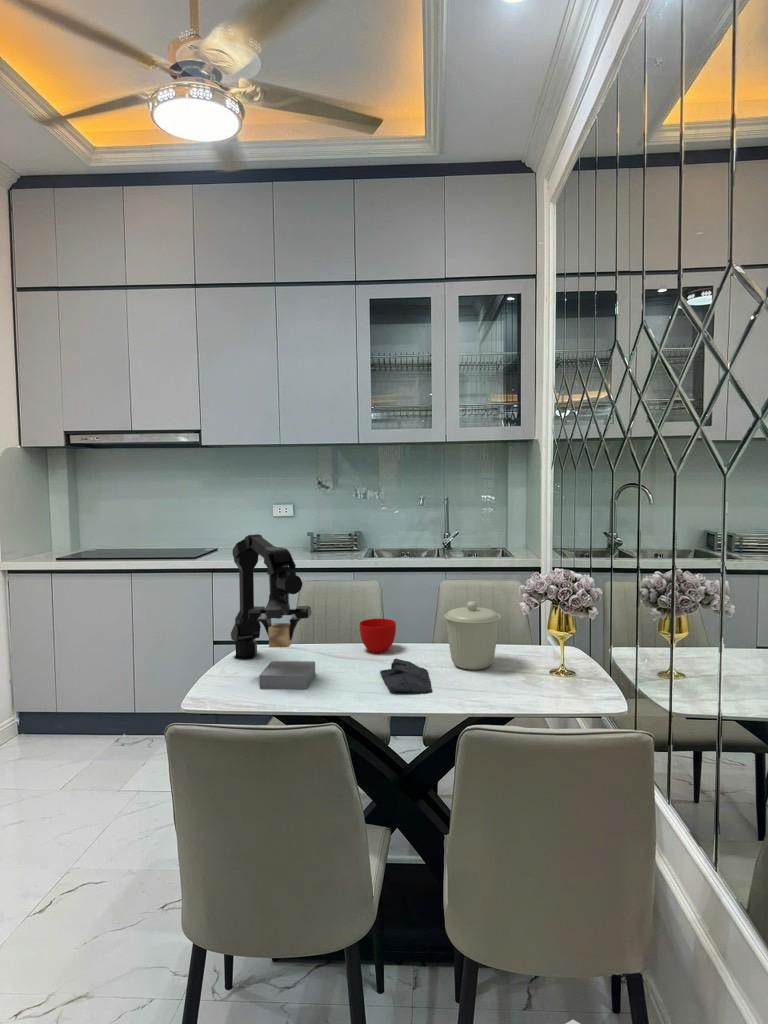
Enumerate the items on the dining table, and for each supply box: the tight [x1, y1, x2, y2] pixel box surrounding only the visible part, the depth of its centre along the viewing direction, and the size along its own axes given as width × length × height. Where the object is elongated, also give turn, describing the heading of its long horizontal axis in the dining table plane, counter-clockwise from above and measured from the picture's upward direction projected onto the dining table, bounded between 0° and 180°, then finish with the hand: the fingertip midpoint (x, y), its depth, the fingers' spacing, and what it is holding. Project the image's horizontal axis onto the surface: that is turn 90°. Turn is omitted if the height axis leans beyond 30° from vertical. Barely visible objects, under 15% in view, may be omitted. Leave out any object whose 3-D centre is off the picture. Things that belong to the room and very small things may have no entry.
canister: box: [443, 600, 501, 671], centre depth 203 cm, size 18×18×21 cm
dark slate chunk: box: [379, 658, 433, 694], centre depth 189 cm, size 15×22×5 cm
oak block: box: [268, 622, 294, 648], centre depth 194 cm, size 6×6×6 cm
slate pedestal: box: [258, 660, 316, 690], centre depth 192 cm, size 14×14×4 cm
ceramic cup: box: [358, 618, 397, 654], centre depth 224 cm, size 13×17×10 cm
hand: (280, 639), depth 194 cm, fingers closed on oak block, 6 cm apart
